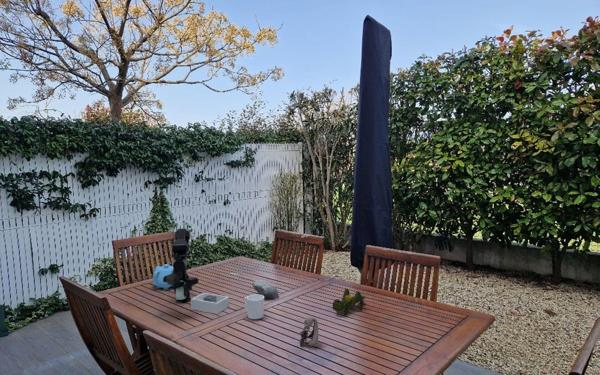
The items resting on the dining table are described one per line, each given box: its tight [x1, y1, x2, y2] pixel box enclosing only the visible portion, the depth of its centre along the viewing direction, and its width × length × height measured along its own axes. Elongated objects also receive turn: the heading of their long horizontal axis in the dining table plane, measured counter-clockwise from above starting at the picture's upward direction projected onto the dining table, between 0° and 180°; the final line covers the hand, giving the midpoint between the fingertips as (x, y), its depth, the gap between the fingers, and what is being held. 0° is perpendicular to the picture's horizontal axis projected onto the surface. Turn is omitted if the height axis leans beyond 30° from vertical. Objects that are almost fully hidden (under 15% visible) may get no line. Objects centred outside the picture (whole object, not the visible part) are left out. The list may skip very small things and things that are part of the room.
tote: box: [190, 292, 230, 315], centre depth 207 cm, size 17×11×6 cm, turn 67°
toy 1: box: [299, 314, 319, 348], centre depth 164 cm, size 8×8×14 cm
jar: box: [175, 287, 186, 300], centre depth 198 cm, size 5×5×5 cm
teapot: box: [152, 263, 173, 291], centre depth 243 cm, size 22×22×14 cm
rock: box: [252, 279, 279, 300], centre depth 225 cm, size 11×17×10 cm, turn 50°
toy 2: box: [332, 288, 366, 316], centre depth 204 cm, size 10×24×10 cm, turn 139°
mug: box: [243, 293, 265, 321], centre depth 194 cm, size 11×9×10 cm
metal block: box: [203, 295, 216, 303], centre depth 207 cm, size 5×5×5 cm
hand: (181, 295), depth 198 cm, fingers closed on jar, 5 cm apart
